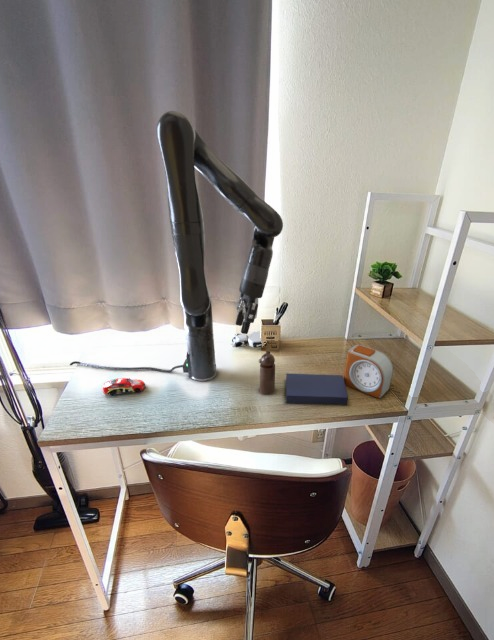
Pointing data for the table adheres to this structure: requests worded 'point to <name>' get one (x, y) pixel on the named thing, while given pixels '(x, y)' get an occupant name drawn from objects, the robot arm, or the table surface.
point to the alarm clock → (368, 370)
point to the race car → (123, 386)
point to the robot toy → (247, 340)
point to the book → (316, 389)
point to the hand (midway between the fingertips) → (241, 329)
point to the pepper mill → (267, 373)
